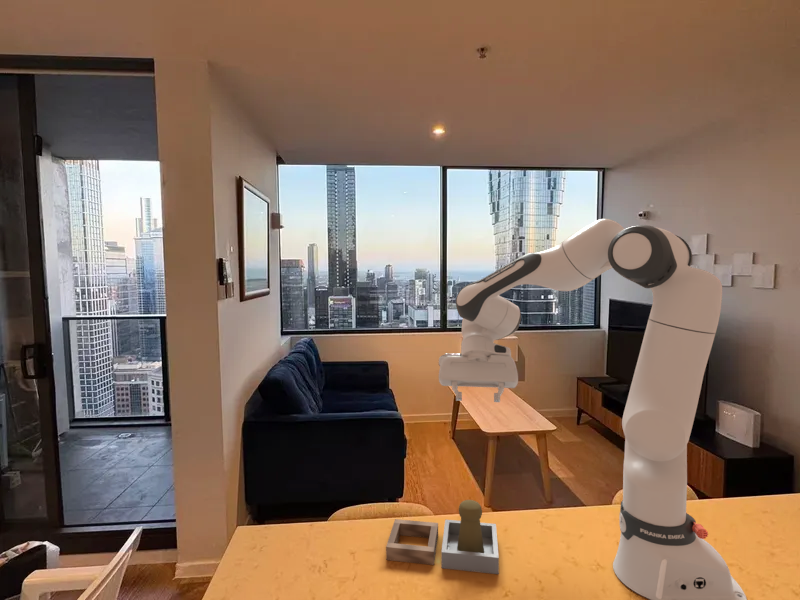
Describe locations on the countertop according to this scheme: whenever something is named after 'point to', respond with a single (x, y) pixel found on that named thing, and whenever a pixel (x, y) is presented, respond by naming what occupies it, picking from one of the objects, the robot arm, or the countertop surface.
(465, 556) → the slate tray
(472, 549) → the olive pawn
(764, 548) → the countertop surface
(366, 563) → the countertop surface
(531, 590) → the countertop surface
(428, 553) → the walnut holder
